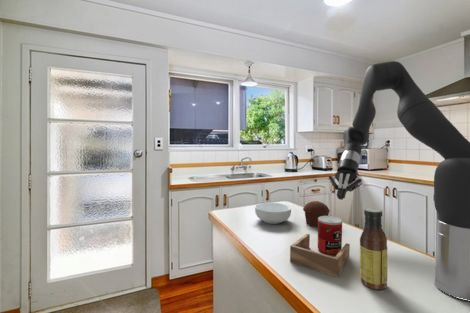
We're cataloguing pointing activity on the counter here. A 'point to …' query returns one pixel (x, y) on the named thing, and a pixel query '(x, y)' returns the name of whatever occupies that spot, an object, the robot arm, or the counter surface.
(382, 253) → the sauce bottle
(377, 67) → the robot arm
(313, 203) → the muffin
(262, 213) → the cereal bowl
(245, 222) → the counter surface
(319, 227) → the canned food
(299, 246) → the wooden u-shaped frame
